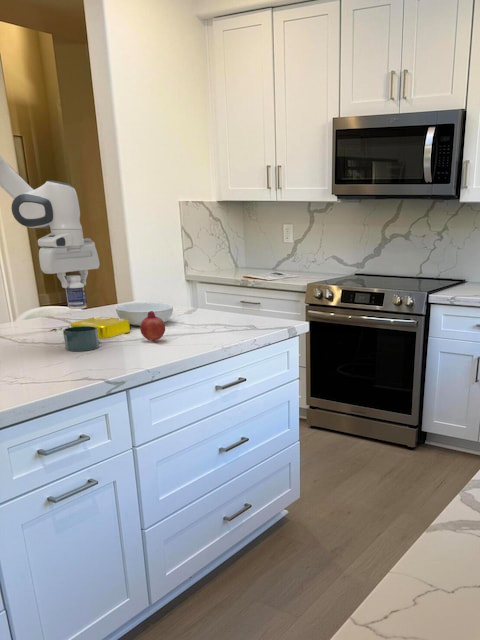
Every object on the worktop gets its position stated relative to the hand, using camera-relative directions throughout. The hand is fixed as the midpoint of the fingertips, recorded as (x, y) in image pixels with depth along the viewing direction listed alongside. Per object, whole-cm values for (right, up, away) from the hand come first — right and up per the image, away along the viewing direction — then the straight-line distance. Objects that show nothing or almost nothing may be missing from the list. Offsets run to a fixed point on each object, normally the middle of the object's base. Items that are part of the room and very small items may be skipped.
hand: (74, 286), depth 186 cm
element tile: (-2, -10, +28) cm, 30 cm away
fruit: (+20, -14, +17) cm, 30 cm away
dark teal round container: (0, -18, +7) cm, 19 cm away
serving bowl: (+9, -4, +46) cm, 47 cm away
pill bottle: (0, -6, +2) cm, 7 cm away
